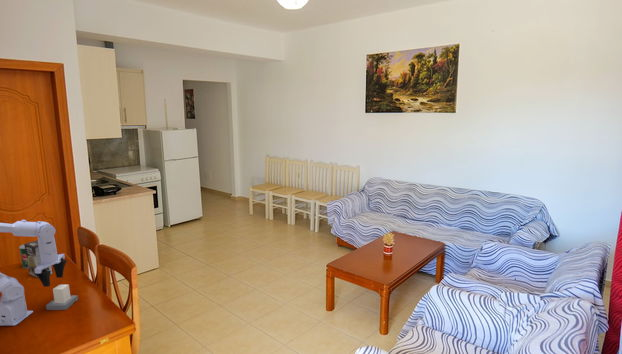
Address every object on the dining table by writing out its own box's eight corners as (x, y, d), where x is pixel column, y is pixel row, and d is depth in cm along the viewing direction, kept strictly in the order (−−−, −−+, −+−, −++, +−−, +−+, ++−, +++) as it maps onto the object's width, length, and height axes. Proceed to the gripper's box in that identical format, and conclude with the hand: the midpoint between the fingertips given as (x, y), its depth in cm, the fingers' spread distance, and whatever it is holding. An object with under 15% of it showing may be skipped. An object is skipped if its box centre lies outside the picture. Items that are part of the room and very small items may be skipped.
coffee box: (28, 274, 182) (23, 243, 179) (43, 269, 188) (38, 239, 185) (38, 278, 178) (33, 247, 175) (53, 273, 184) (48, 242, 181)
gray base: (66, 309, 151) (65, 305, 151) (46, 309, 151) (45, 305, 151) (78, 299, 159) (77, 295, 158) (59, 299, 159) (59, 295, 158)
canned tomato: (38, 260, 198) (35, 241, 196) (43, 264, 194) (40, 244, 191) (20, 265, 192) (17, 245, 190) (25, 269, 188) (21, 249, 185)
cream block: (64, 302, 152) (62, 289, 151) (54, 302, 152) (52, 289, 151) (70, 297, 156) (68, 284, 155) (61, 297, 156) (59, 284, 155)
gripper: (44, 258, 144) (50, 290, 147) (69, 244, 158) (74, 273, 161) (27, 258, 144) (33, 290, 147) (53, 244, 158) (58, 273, 161)
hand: (53, 281), depth 154 cm, fingers open, 7 cm apart
